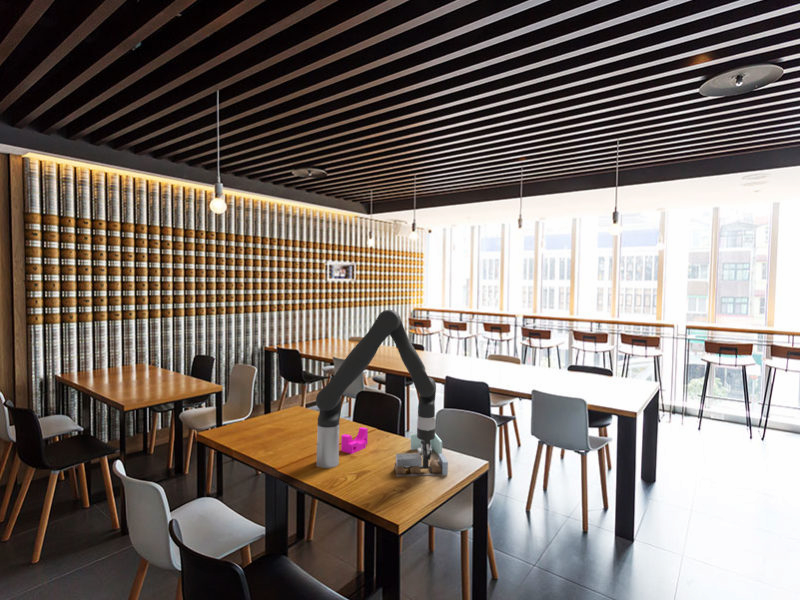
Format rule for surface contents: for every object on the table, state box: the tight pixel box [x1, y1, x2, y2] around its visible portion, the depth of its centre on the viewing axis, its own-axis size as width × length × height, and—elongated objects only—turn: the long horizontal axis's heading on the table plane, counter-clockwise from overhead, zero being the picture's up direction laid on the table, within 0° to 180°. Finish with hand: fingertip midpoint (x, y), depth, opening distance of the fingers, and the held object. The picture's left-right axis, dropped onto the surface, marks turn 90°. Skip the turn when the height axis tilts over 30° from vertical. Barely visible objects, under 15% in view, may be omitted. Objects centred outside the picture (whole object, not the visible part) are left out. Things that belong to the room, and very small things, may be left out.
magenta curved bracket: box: [340, 426, 369, 455], centre depth 206 cm, size 15×6×8 cm, turn 147°
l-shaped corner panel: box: [410, 432, 443, 456], centre depth 202 cm, size 12×12×8 cm
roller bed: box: [394, 459, 443, 477], centre depth 180 cm, size 19×8×4 cm, turn 96°
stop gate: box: [437, 453, 449, 476], centre depth 181 cm, size 2×9×6 cm, turn 6°
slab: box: [395, 452, 423, 467], centre depth 179 cm, size 10×6×3 cm, turn 96°
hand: (425, 467), depth 180 cm, fingers closed
